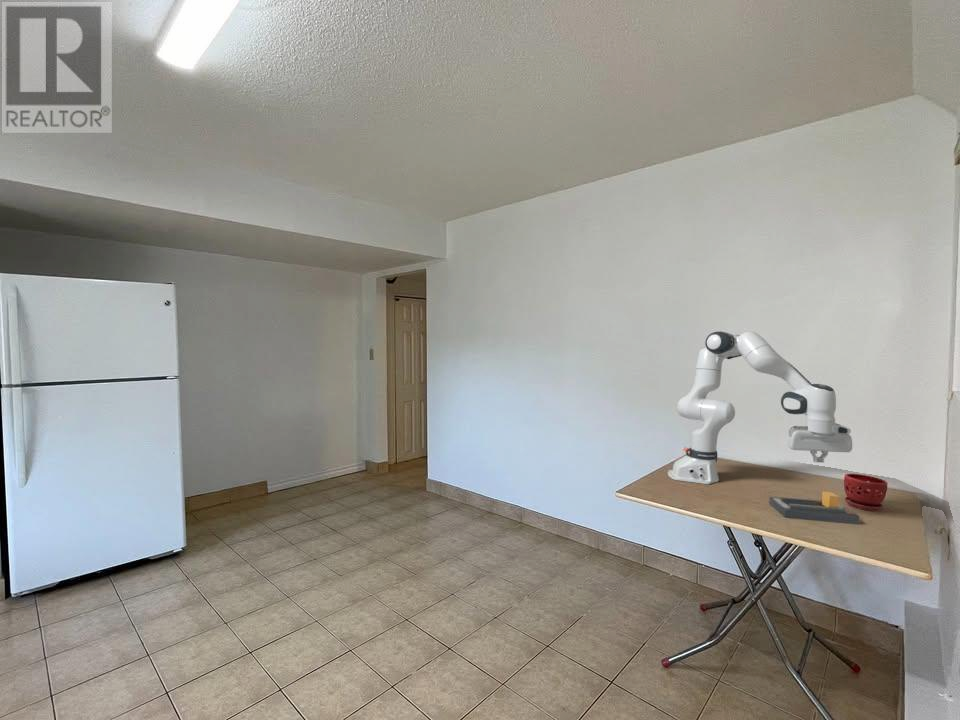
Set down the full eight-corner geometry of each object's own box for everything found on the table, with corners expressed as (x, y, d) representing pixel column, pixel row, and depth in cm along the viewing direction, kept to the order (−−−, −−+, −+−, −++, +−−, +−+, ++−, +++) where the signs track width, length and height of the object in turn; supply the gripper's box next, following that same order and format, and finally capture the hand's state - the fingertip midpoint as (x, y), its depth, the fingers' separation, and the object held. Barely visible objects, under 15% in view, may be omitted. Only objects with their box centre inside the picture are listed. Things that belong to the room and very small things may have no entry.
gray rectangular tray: (784, 517, 164) (785, 506, 164) (769, 503, 178) (769, 493, 178) (858, 524, 159) (859, 513, 159) (836, 509, 173) (837, 499, 172)
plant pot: (881, 515, 167) (882, 485, 167) (838, 504, 178) (839, 476, 177) (889, 508, 175) (891, 479, 174) (848, 498, 186) (849, 470, 185)
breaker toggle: (829, 508, 165) (829, 496, 165) (821, 504, 170) (822, 491, 170) (838, 509, 164) (838, 496, 164) (830, 504, 169) (831, 492, 169)
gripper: (793, 427, 166) (791, 462, 167) (855, 429, 161) (853, 466, 162) (785, 423, 172) (784, 458, 173) (845, 425, 167) (844, 461, 168)
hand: (818, 462), depth 167 cm, fingers closed
